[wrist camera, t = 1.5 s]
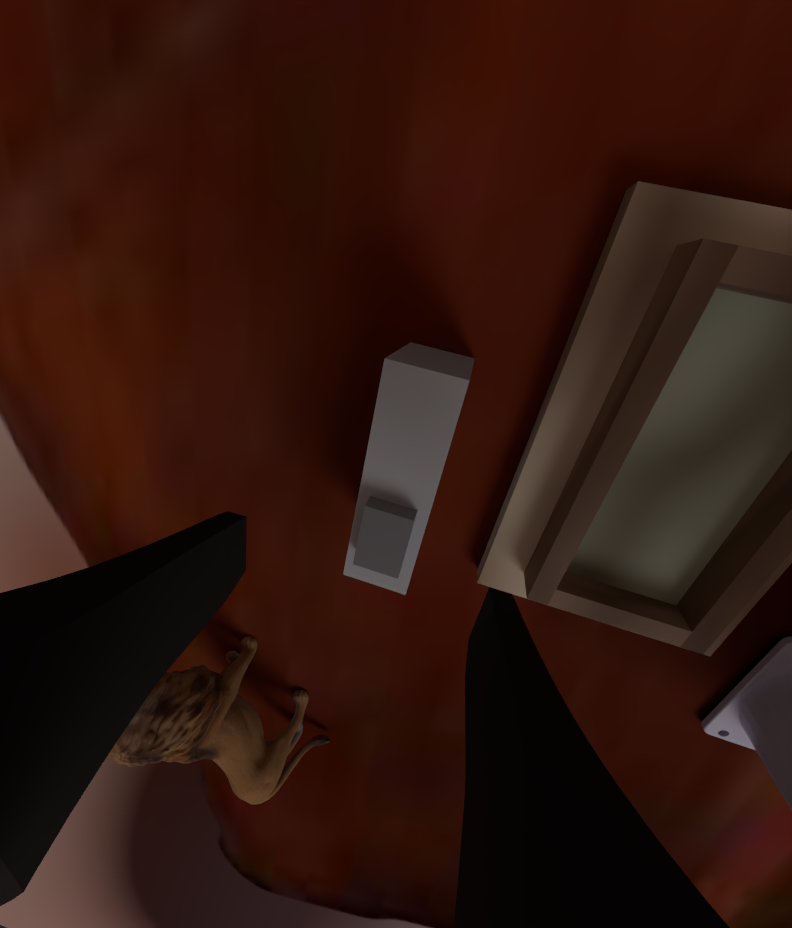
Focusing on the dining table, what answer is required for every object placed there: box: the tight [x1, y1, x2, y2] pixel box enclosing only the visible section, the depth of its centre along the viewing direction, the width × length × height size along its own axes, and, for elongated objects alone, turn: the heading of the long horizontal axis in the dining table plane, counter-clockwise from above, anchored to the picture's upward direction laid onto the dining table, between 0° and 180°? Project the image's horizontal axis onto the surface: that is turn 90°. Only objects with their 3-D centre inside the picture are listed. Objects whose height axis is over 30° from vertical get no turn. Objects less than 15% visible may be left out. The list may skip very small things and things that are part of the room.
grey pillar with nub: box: [343, 342, 475, 595], centre depth 17 cm, size 3×10×6 cm, turn 168°
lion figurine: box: [108, 636, 330, 804], centre depth 26 cm, size 15×5×9 cm, turn 44°
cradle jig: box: [477, 181, 792, 656], centre depth 16 cm, size 12×18×3 cm, turn 168°
